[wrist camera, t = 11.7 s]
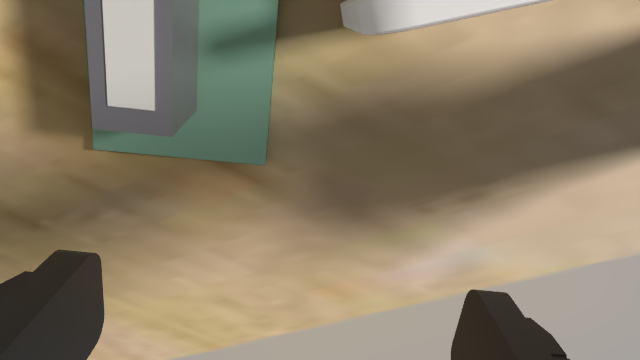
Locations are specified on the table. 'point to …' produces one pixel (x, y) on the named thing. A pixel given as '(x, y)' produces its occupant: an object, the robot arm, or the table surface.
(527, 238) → the table surface
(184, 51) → the block
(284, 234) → the table surface
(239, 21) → the board
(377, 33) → the white socket shroud
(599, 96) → the table surface
